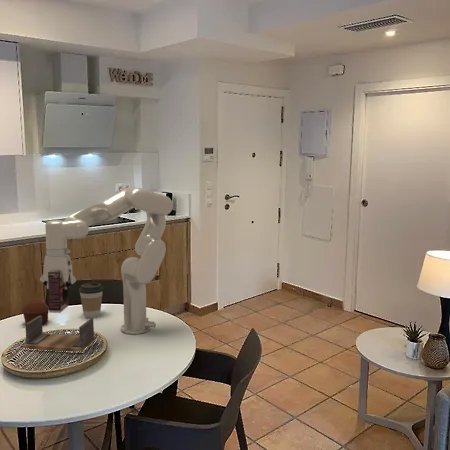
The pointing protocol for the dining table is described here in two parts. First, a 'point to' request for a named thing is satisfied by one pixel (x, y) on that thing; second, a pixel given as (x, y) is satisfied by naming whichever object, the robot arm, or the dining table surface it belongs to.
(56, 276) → the supplement box
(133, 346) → the dining table surface
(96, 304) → the coffee cup
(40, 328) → the shelf
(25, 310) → the muffin
